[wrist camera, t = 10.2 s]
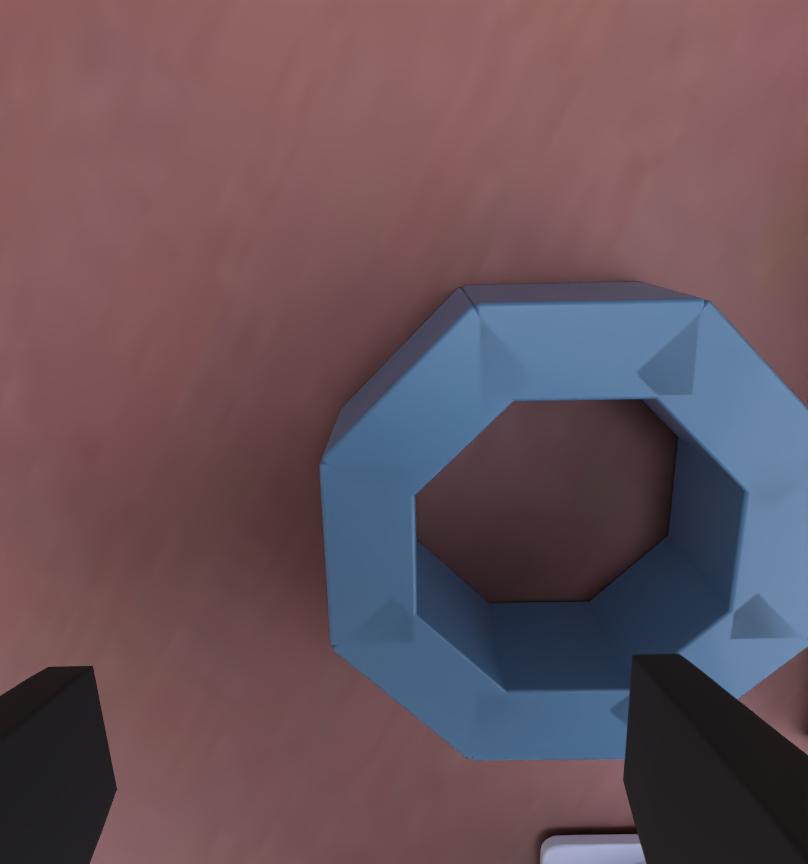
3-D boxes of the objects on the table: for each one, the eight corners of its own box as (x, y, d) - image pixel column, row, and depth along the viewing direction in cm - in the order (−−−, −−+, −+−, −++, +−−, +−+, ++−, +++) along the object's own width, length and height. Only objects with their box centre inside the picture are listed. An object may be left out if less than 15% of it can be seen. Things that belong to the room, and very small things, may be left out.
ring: (723, 659, 18) (793, 759, 15) (350, 663, 18) (336, 763, 15) (774, 277, 15) (877, 294, 12) (331, 287, 15) (308, 306, 12)
